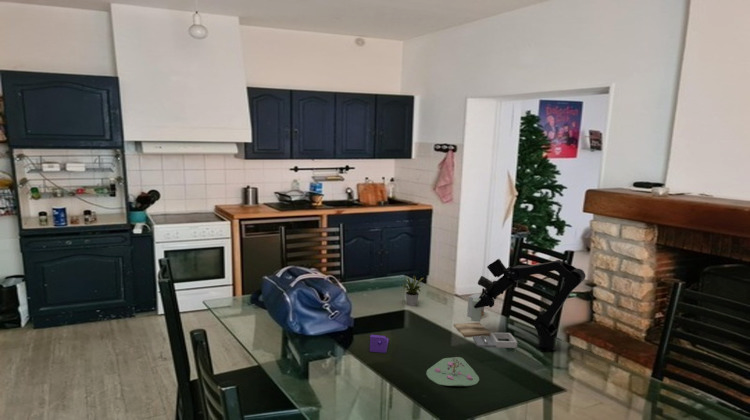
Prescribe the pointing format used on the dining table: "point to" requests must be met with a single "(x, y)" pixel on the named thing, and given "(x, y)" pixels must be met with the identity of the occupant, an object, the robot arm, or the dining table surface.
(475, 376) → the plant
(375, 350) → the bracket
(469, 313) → the small box
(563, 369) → the dining table surface
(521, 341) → the dining table surface
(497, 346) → the equipment case
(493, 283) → the robot arm
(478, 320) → the block
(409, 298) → the house plant
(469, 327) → the oak pad
